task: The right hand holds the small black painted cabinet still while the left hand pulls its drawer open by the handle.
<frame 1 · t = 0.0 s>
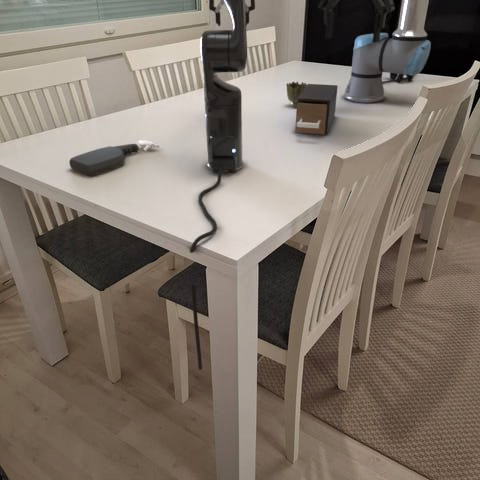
left hand: (232, 25, 142), 29 cm above the table, tool pointing down, fingers open, 8 cm apart
right hand: (351, 40, 121), 28 cm above the table, tool pointing down, fingers open, 13 cm apart
cup: (295, 106, 168), on the table
cabinet: (315, 124, 149), on the table
spray bottle: (117, 159, 125), on the table
drawer: (314, 113, 141), point 5 cm above the table, slide at 1.5 cm
squiggle: (399, 80, 200), on the table
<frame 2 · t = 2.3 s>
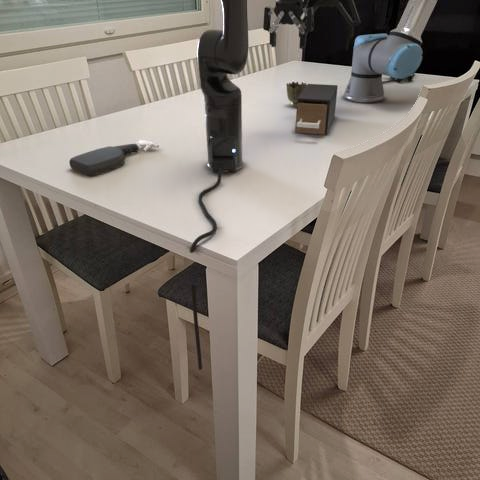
left hand: (287, 47, 129), 25 cm above the table, tool pointing down, fingers open, 8 cm apart
right hand: (324, 49, 142), 22 cm above the table, tool pointing down, fingers open, 13 cm apart
nothing on the table moved.
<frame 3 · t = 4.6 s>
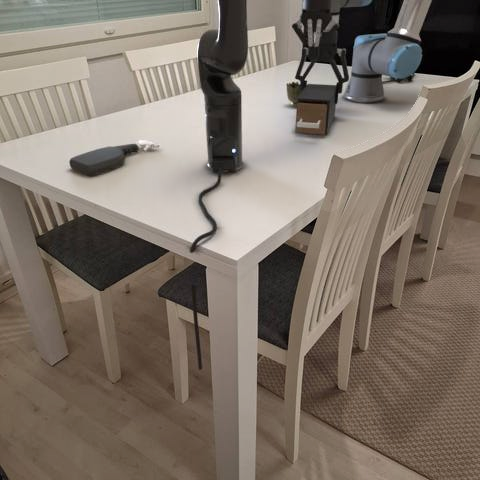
left hand: (313, 60, 124), 23 cm above the table, tool pointing down, fingers closed
right hand: (319, 102, 151), 6 cm above the table, tool pointing down, fingers closed on cabinet, 10 cm apart
cabinet: (315, 124, 149), on the table, touching right hand
everything else where it was.
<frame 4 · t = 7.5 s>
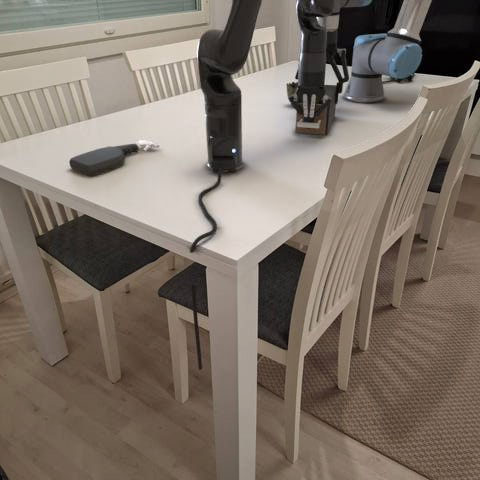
left hand: (308, 128, 134), 4 cm above the table, tool pointing down, fingers closed
right hand: (320, 102, 151), 6 cm above the table, tool pointing down, fingers closed on cabinet, 10 cm apart
cabinet: (315, 124, 149), on the table, touching right hand
drawer: (314, 113, 141), point 5 cm above the table, slide at 1.5 cm, touching left hand
everything else where it was.
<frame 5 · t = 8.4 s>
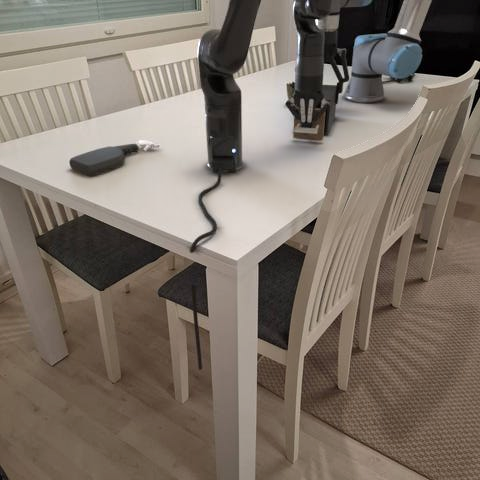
left hand: (306, 133, 130), 4 cm above the table, tool pointing down, fingers closed
right hand: (320, 102, 151), 6 cm above the table, tool pointing down, fingers closed on cabinet, 10 cm apart
cabinet: (316, 124, 148), on the table, touching right hand
drawer: (312, 118, 136), point 5 cm above the table, slide at 6.6 cm, touching left hand
everything else where it was.
when the right hand's fingers open (6 cm above the table, at t = 10.4 s): cabinet stays where it is, on the table.
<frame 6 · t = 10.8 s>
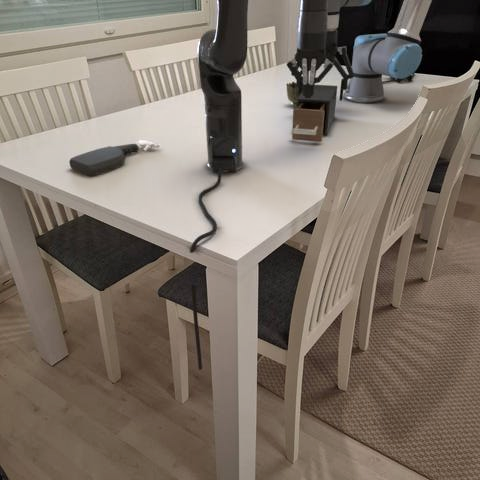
left hand: (307, 97, 124), 14 cm above the table, tool pointing down, fingers closed
right hand: (320, 98, 150), 7 cm above the table, tool pointing down, fingers open, 13 cm apart
cabinet: (315, 125, 148), on the table
drawer: (310, 119, 136), point 5 cm above the table, slide at 7.0 cm
everything else where it was.
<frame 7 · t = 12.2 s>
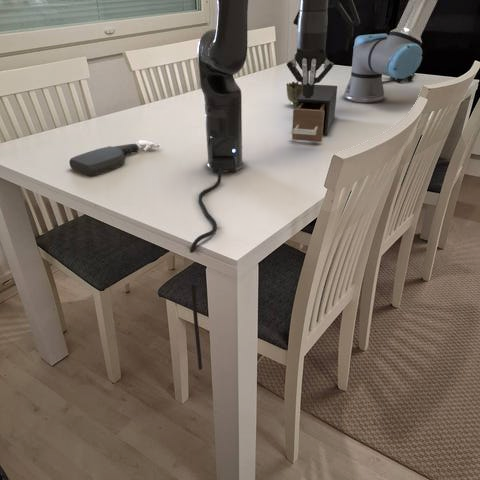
left hand: (307, 97, 124), 14 cm above the table, tool pointing down, fingers closed
right hand: (324, 49, 142), 22 cm above the table, tool pointing down, fingers open, 13 cm apart
nothing on the table moved.
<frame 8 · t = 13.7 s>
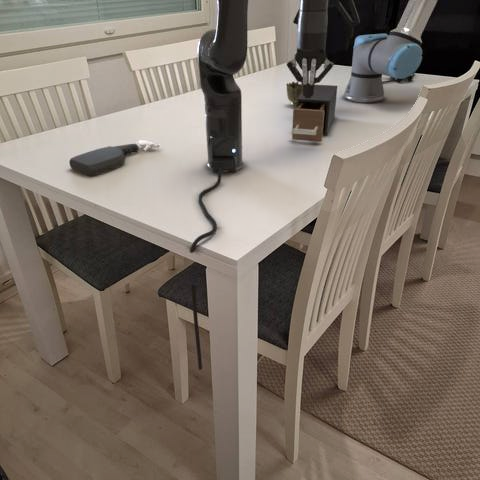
left hand: (307, 97, 124), 14 cm above the table, tool pointing down, fingers closed
right hand: (324, 48, 142), 22 cm above the table, tool pointing down, fingers open, 13 cm apart
nothing on the table moved.
at the end: drawer slide at 7.0 cm; cabinet tilted 0°; cabinet never tilted more than 3° during the clip; cabinet moved 0.7 cm from its start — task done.
